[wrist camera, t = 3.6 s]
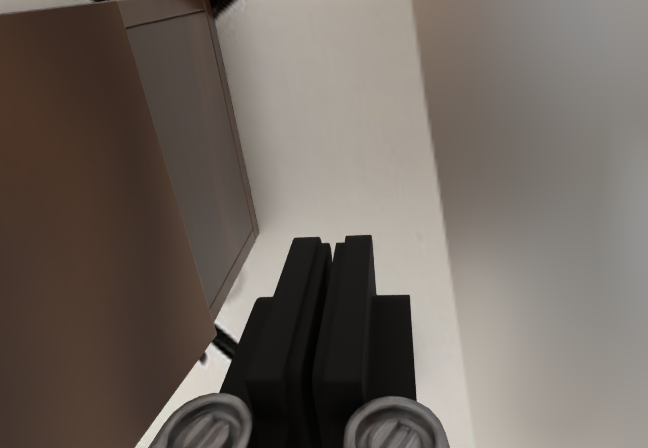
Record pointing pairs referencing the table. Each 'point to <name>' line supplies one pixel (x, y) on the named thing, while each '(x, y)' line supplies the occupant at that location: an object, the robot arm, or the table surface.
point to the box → (196, 133)
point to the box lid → (87, 239)
